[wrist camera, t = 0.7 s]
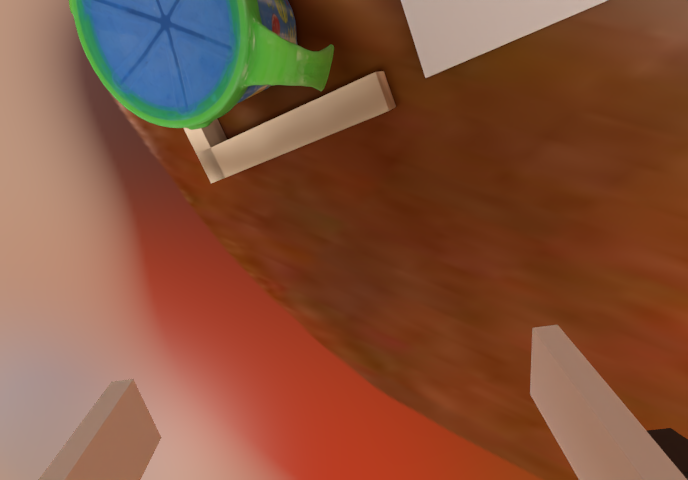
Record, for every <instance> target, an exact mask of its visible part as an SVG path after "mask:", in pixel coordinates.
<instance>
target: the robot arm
mask: <svg viewBox="0 0 688 480" xmlns="http://www.w3.org/2000/svg"><path fill="white" fill-rule="evenodd" d="M530 395H531V397H532V398H533V400H534V402H535V404H536V405H537V407H538V409H539V411H540V412H541V414H542V416H543V418H544V419H545V421H546V423H547V424H548V426H549V428H550V430H551V431H552V433H553V435H554V437H555V438H556V440H557V442H558V444H559V445H560V447H561V449H562V451H563V452H564V454H565V456H566V458H567V459H568V461H569V463H570V465H571V466H572V468H573V470H574V472H575V473H576V475H577V477H578V479H579V480H688V440H687V439H686V438H684V437H683V436H681V435H680V434H678V433H677V432H676V431H674V430H673V429H671V428H667V429H658V430H649V431H646V430H645V429H644V427H643V426H642V425H641V424H640V423H639V421H638V420H637V419H636V418H635V417H634V416H633V414H632V413H631V412H630V411H629V410H628V408H627V407H626V406H625V405H624V404H623V402H622V401H621V400H620V399H619V398H618V396H617V395H616V394H615V393H614V392H613V390H612V389H611V388H610V387H609V386H608V384H607V383H606V382H605V381H604V380H603V378H602V377H601V376H600V375H599V374H598V373H597V371H596V370H595V369H594V368H593V367H592V365H591V364H590V363H589V362H588V361H587V359H586V358H585V357H584V356H583V355H582V353H581V352H580V351H579V350H578V349H577V347H576V346H575V345H574V344H573V343H572V341H571V340H570V339H569V338H568V337H567V335H566V334H565V333H564V332H563V331H562V330H561V328H560V327H559V326H558V325H552V326H544V327H536V328H533V329H532V356H531V382H530ZM160 439H161V436H160V434H159V432H158V430H157V428H156V426H155V424H154V422H153V419H152V417H151V415H150V413H149V411H148V409H147V407H146V405H145V403H144V401H143V399H142V397H141V394H140V392H139V390H138V388H137V386H136V384H135V382H134V380H133V379H130V380H123V381H115V382H111V383H110V385H109V386H108V387H107V389H106V390H105V391H104V393H103V394H102V395H101V397H100V398H99V399H98V401H97V402H96V404H95V405H94V406H93V408H92V409H91V410H90V412H89V413H88V414H87V416H86V417H85V418H84V420H83V421H82V422H81V423H80V425H79V426H78V428H77V429H76V430H75V432H74V433H73V434H72V436H71V437H70V438H69V440H68V441H67V442H66V444H65V445H64V447H63V448H62V449H61V450H60V452H59V453H58V454H57V456H56V457H55V459H54V460H53V461H52V462H51V464H50V465H49V467H48V468H47V469H46V470H45V472H44V473H43V475H42V476H41V477H40V479H39V480H140V479H141V477H142V475H143V473H144V471H145V469H146V467H147V465H148V463H149V461H150V459H151V457H152V455H153V453H154V451H155V449H156V447H157V445H158V443H159V441H160Z"/></svg>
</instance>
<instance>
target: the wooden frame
mask: <svg viewBox="0 0 688 480" xmlns="http://www.w3.org/2000/svg"><path fill="white" fill-rule="evenodd" d="M395 107H396V105H395V102H394V99H393V96H392V93H391V90H390V87H389V85H388V82H387V79H386V76H385V73H384V71H380V72H374V73H372V74H370V75H368V76H365V77H363V78H361V79H359V80H357V81H355V82H352V83H350V84H348V85H346V86H344V87H341V88H339V89H337V90H335V91H333V92H331V93H328V94H326V95H324V96H322V97H320V98H318V99H315V100H313V101H311V102H309V103H307V104H304V105H302V106H300V107H298V108H296V109H294V110H291V111H289V112H287V113H285V114H283V115H280V116H278V117H276V118H274V119H272V120H270V121H267V122H265V123H263V124H261V125H259V126H257V127H254V128H252V129H250V130H248V131H246V132H243V133H241V134H239V135H237V136H235V137H233V138H230V139H228V140H227V138H226V136H225V133H224V131H223V129H222V127H221V125H220V123H219V121H218V119H216V120H214V121H213V122H212V123H211V124H210V125H209V126H207V127H204V128H200V129H194V130H190V129H189V128H184V130H185V132H186V134H187V136H188V138H189V140H190V142H191V144H192V146H193V148H194V150H195V152H196V154H197V156H198V158H199V160H200V162H201V164H202V166H203V168H204V170H205V172H206V174H207V176H208V178H209V180H210V182H211V183H213V182H216V181H218V180H221V179H223V178H226V177H228V176H231V175H233V174H235V173H238V172H240V171H243V170H245V169H248V168H250V167H253V166H255V165H258V164H260V163H262V162H265V161H267V160H270V159H272V158H275V157H277V156H280V155H282V154H284V153H287V152H289V151H292V150H294V149H297V148H299V147H302V146H304V145H307V144H309V143H311V142H314V141H316V140H319V139H321V138H324V137H326V136H329V135H331V134H333V133H336V132H338V131H341V130H343V129H346V128H348V127H351V126H353V125H356V124H358V123H360V122H363V121H365V120H368V119H370V118H373V117H375V116H378V115H380V114H382V113H385V112H387V111H390V110H392V109H393V108H395Z"/></svg>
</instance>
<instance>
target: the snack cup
mask: <svg viewBox="0 0 688 480" xmlns="http://www.w3.org/2000/svg"><path fill="white" fill-rule="evenodd" d="M69 5H70V10H71V13H72V14H73V15H74V19H75V23H76V28H77V32H78V35H79V38H80V41H81V44H82V47H83V49H84V52H85V54H86V56H87V58H88V60H89V62H90V63H91V66H92V67H93V69H94V71H95V73H96V74H97V76H98V77H99V79H100V80H101V81H102V83H103V85H104V86H105V87H106V88H107V90H108V91H109V92H110V93H111V94H112V95H113V96H114V97H115V98H116V99H117V100H118V101H119V102H120V103H121V104H122V105H123V106H124V107H125V108H127V109H128V110H129V111H131V112H132V113H134V114H135V115H137V116H138V117H140V118H142V119H144V120H146V121H148V122H150V123H153V124H156V125H159V126H164V127H170V128H189V129H190V130H194V129H200V128H204V127H207V126H209V125H210V124H211V123H212V122H213V121H214V120H216V119H217V118H219V117H221V116H223V115H224V114H226V113H227V112H229V111H230V110H231V109H232V108H233V107H234V106H235V105H236V104H237V103H239V102H242V101H244V100H246V99H248V98H250V97H251V96H254V95H256V94H258V93H259V92H261V91H263V90H266V89H268V88H269V87H270V86H272V85H286V86H307V87H313V88H315V89H317V90H319V91H322V90H323V89H324V88H325V85H326V82H327V80H328V76H329V72H330V67H331V63H332V59H333V53H334V46H333V45H332V44H330V45H329V46H328V47H326V48H324V49H322V50H320V51H310V50H307V49H304V48H303V47H301V46H299V45H297V44H298V43H297V35H296V22H295V17H294V14H293V10H292V8H291V6H290V4H289V1H288V0H69Z"/></svg>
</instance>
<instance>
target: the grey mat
mask: <svg viewBox="0 0 688 480" xmlns="http://www.w3.org/2000/svg"><path fill="white" fill-rule="evenodd" d="M605 1H608V0H401V3H402V6H403V9H404V12H405V15H406V18H407V22H408V25H409V28H410V31H411V34H412V37H413V40H414V44H415V47H416V50H417V53H418V56H419V59H420V63H421V66H422V69H423V72H424V75H425V78H427V77H430V76H432V75H434V74H437V73H439V72H441V71H444V70H446V69H448V68H451V67H453V66H455V65H458V64H460V63H463V62H465V61H467V60H470V59H472V58H474V57H477V56H479V55H481V54H484V53H486V52H488V51H491V50H493V49H495V48H498V47H500V46H502V45H505V44H507V43H509V42H512V41H514V40H516V39H519V38H521V37H523V36H526V35H528V34H530V33H533V32H535V31H537V30H540V29H542V28H544V27H547V26H549V25H551V24H554V23H556V22H558V21H561V20H563V19H566V18H568V17H570V16H573V15H575V14H577V13H580V12H582V11H584V10H587V9H589V8H591V7H594V6H596V5H598V4H601V3H603V2H605Z"/></svg>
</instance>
